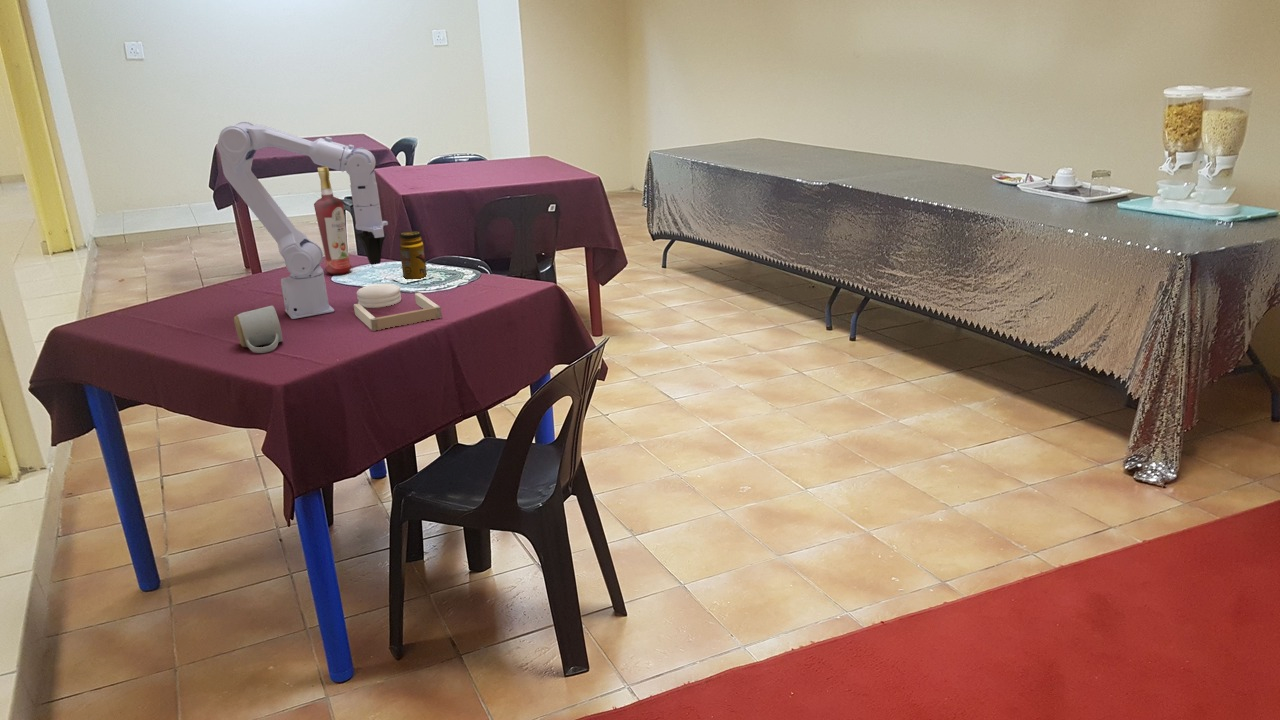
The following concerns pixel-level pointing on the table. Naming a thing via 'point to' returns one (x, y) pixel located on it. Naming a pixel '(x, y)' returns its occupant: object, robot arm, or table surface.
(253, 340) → the ceramic mug
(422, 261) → the condiment
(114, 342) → the table surface
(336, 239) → the liquor
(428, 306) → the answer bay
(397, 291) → the coaster
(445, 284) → the table surface
